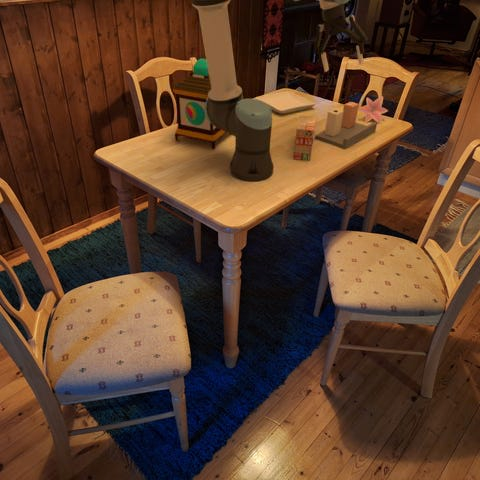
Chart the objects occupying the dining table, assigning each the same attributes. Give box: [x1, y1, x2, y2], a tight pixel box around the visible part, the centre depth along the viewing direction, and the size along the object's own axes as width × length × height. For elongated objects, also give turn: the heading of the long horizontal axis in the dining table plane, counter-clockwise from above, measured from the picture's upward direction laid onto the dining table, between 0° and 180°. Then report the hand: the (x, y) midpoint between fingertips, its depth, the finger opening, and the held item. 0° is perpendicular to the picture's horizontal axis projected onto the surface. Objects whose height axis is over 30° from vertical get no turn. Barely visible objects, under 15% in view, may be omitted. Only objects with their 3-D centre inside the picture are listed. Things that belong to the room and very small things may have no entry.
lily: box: [358, 95, 389, 125], centre depth 185 cm, size 12×12×10 cm
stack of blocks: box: [292, 114, 316, 162], centre depth 158 cm, size 21×6×12 cm, turn 170°
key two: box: [341, 101, 360, 128], centre depth 174 cm, size 5×4×9 cm
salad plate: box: [254, 90, 316, 115], centre depth 197 cm, size 21×21×3 cm
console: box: [314, 121, 378, 150], centre depth 171 cm, size 24×14×4 cm, turn 137°
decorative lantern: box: [172, 58, 232, 150], centre depth 158 cm, size 20×20×30 cm
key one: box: [324, 108, 344, 136], centre depth 166 cm, size 5×4×9 cm
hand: (343, 67), depth 157 cm, fingers open, 13 cm apart
